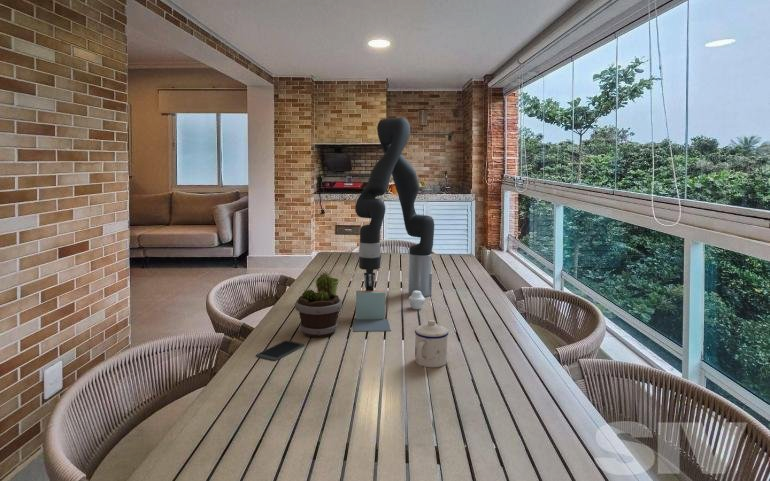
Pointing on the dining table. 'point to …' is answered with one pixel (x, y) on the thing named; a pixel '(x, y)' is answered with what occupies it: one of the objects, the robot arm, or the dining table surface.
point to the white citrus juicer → (416, 300)
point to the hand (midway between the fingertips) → (369, 302)
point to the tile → (370, 304)
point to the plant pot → (333, 285)
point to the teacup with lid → (431, 345)
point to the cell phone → (280, 350)
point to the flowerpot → (319, 309)
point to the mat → (370, 325)
